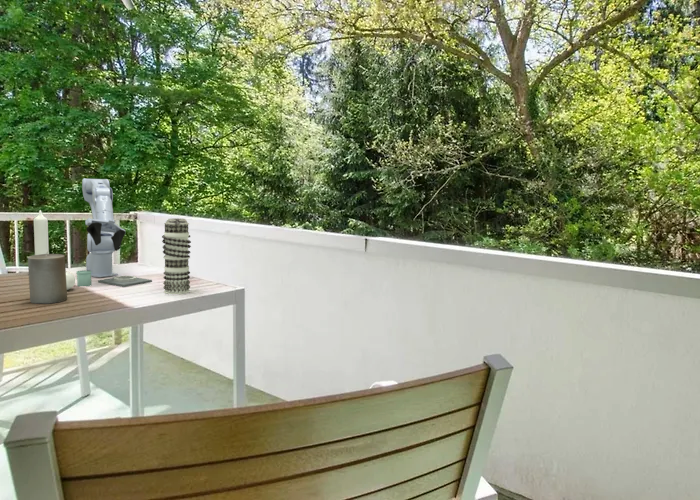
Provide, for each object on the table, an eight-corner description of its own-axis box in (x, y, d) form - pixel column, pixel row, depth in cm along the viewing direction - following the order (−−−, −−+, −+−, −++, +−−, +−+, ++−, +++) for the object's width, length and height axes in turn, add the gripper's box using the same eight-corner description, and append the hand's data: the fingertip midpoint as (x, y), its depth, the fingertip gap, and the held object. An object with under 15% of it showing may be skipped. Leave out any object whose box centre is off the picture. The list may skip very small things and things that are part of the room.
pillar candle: (59, 295, 158) (57, 248, 156) (72, 300, 152) (70, 252, 150) (24, 300, 150) (22, 251, 148) (36, 305, 144) (33, 254, 142)
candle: (27, 275, 188) (24, 209, 185) (43, 273, 195) (41, 209, 192) (41, 277, 186) (39, 210, 183) (57, 274, 193) (55, 210, 190)
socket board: (97, 282, 180) (97, 277, 180) (126, 277, 191) (126, 273, 191) (124, 287, 174) (124, 281, 174) (151, 282, 185) (151, 277, 185)
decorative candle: (162, 289, 172) (161, 217, 169) (190, 288, 176) (190, 218, 173) (162, 295, 164) (161, 219, 161) (191, 294, 167) (191, 219, 164)
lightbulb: (59, 278, 157) (68, 264, 167) (41, 288, 157) (52, 274, 167) (72, 293, 160) (81, 279, 170) (55, 303, 160) (65, 288, 170)
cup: (73, 285, 174) (73, 271, 173) (86, 283, 178) (85, 269, 177) (82, 287, 172) (82, 272, 171) (94, 285, 176) (94, 271, 175)
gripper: (93, 203, 173) (96, 235, 167) (129, 216, 185) (133, 246, 179) (80, 213, 176) (83, 245, 170) (116, 225, 188) (120, 255, 182)
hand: (108, 246), depth 175 cm, fingers open, 7 cm apart
